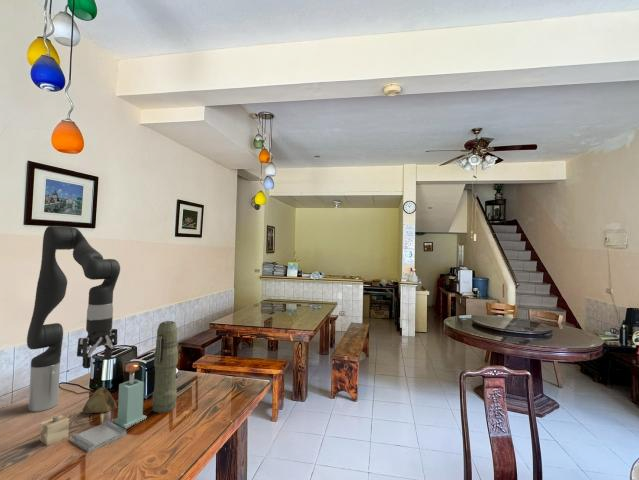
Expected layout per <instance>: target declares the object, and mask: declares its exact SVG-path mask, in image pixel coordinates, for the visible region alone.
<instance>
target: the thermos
mask: <svg viewBox="0 0 639 480" xmlns="http://www.w3.org/2000/svg"><path fill="white" fill-rule="evenodd" d="M153 357H154V363H153V367H154V390H153V392H152V399H151V400H152V402H151V403H152V412H153V411H154V413H155V412H157V413H156V414H163V413H169V412H172V411H174V409H176V407H177V402H176V401H177V397H178V396H177V395H178V393H177V392H178V391H177V387H176V386H177V384H176V382H177V381H176V379H177V365H178V363H179V362H178V361H179V349H178V326H177V323H176V321H172V320H169V321H168V320H167V321H162V322H159V324H158V327H157V330H156V341H155V352H154V356H153Z"/></svg>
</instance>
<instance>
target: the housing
mask: <svg viewBox="0 0 639 480" xmlns="http://www.w3.org/2000/svg"><path fill="white" fill-rule="evenodd" d="M69 425H70V419H69V418H68V417H66V416H65V415H59V416H58V415H57V416H53V417H52V418H51V419H47V420H45V421H43V422H41V424H40V439H39V441H40V442H41V443H43V444H44V445H46V446H49V445H52V444H54V443H56V442H58V441H60V440H64V439H65V438H68V437H69V430H70V426H69Z"/></svg>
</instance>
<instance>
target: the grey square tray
mask: <svg viewBox="0 0 639 480" xmlns="http://www.w3.org/2000/svg"><path fill="white" fill-rule="evenodd" d="M126 435H127V430H126V428H124V427H122V426H120V425H118V424H116V423H114V422H113V421H110V420H107V419H105V420H103V423H100V424H99V425H96V426H94V427H91V428H89V429H87V430H85V431H81V432H80V433H76V432H74V433H72V434H71V436H70V437H69V441H70V442H71V443H73V444H74V445H75V446H77V447H79V448H80V449H82V450H83V451H85V452H87V453H90V452H92V451H94V450H97V449H99V448H100V447H103V446H105V445H108V444H109V443H112V442H114V441H116V440H118V439H119V438H122V437H124V436H126Z"/></svg>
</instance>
